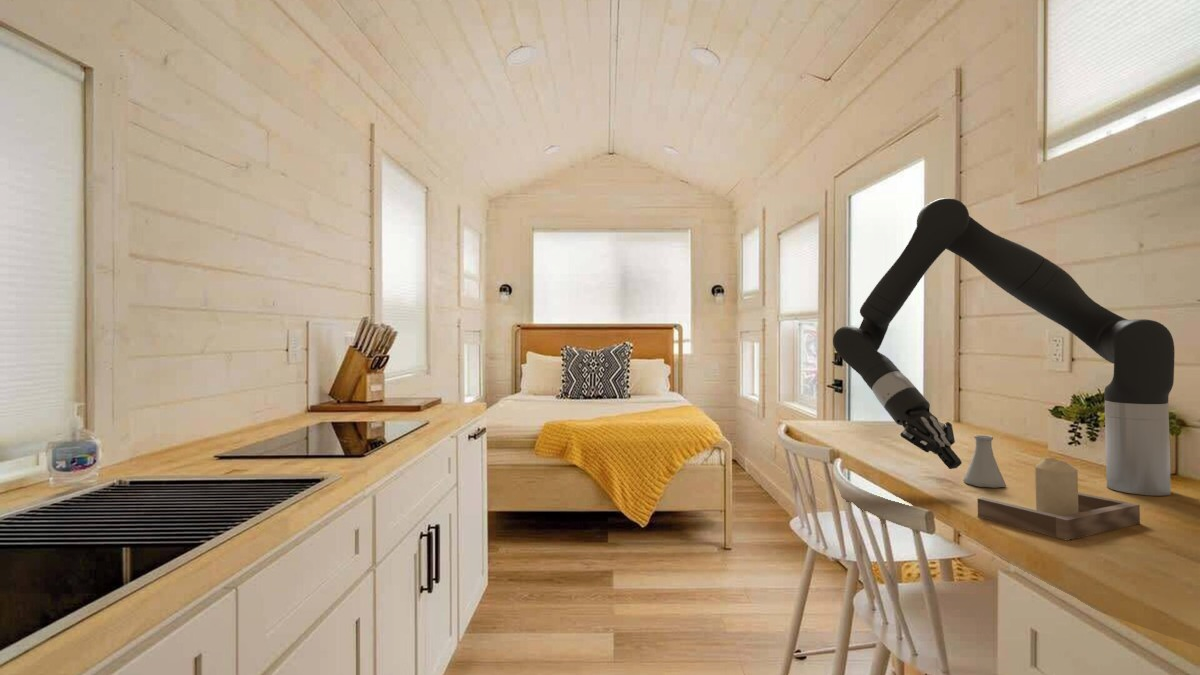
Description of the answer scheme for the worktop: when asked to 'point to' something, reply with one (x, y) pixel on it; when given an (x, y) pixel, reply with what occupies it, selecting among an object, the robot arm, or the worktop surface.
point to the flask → (984, 465)
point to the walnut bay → (1090, 520)
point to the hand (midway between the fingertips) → (956, 466)
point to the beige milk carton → (1056, 487)
